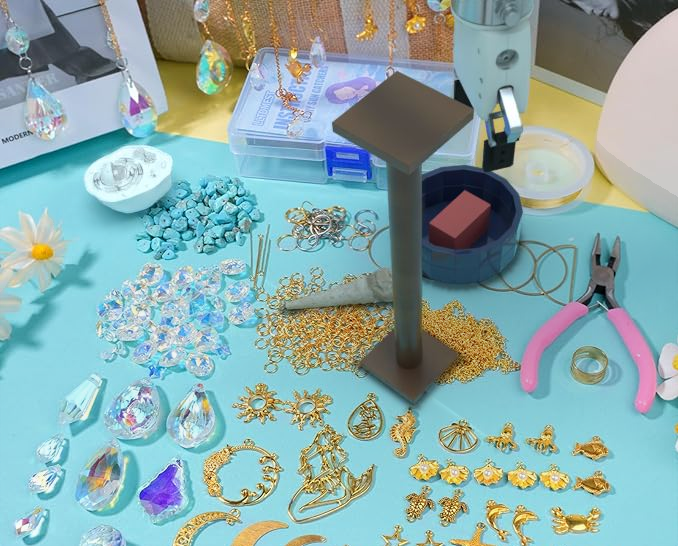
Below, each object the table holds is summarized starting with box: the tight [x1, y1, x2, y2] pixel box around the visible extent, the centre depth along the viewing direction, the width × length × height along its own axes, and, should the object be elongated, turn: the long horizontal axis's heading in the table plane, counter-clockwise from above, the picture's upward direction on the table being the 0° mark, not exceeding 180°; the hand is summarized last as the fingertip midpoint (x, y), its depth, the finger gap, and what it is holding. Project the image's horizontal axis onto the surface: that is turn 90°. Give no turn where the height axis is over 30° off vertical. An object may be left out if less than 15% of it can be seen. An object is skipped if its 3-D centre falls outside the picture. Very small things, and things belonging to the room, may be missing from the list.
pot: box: [422, 164, 524, 285], centre depth 102 cm, size 15×15×6 cm
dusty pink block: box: [429, 190, 491, 250], centre depth 102 cm, size 7×4×4 cm, turn 137°
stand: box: [331, 70, 475, 406], centre depth 80 cm, size 8×8×36 cm
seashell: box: [285, 267, 393, 310], centre depth 99 cm, size 4×16×4 cm, turn 98°
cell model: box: [83, 145, 173, 214], centre depth 111 cm, size 10×12×7 cm
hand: (482, 137), depth 89 cm, fingers open, 9 cm apart
